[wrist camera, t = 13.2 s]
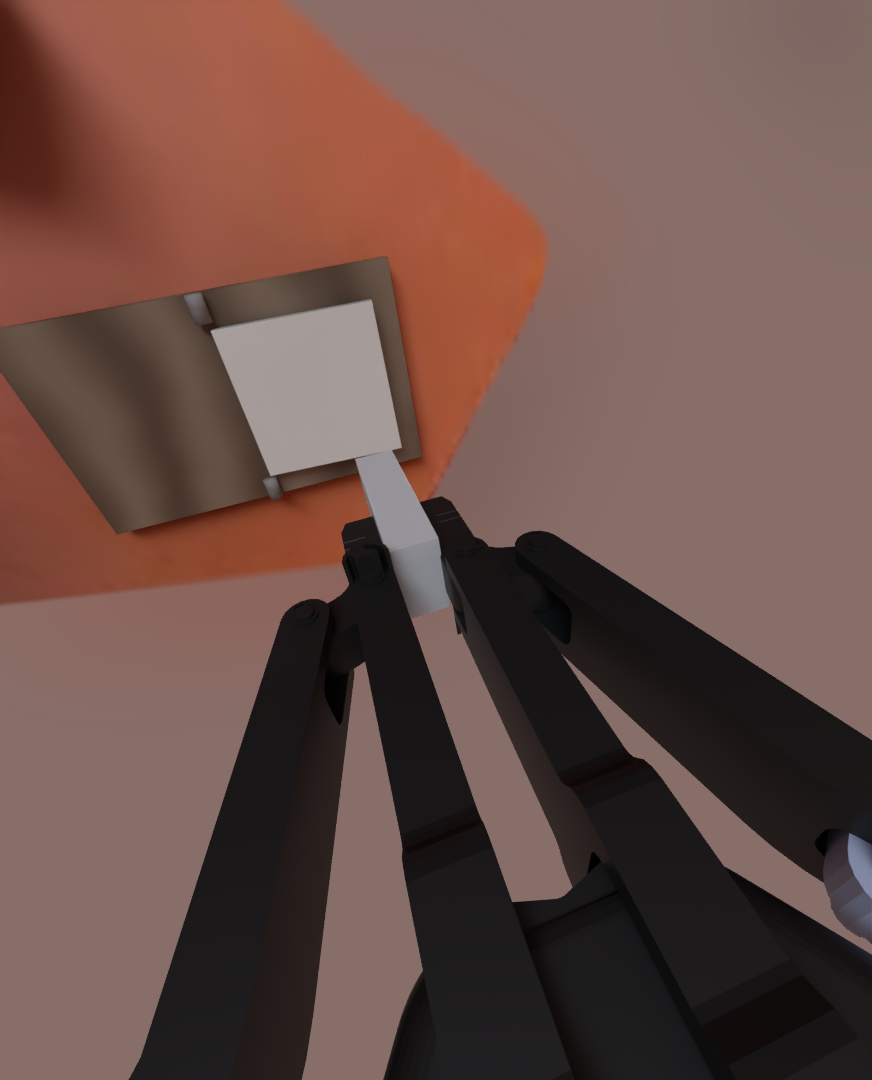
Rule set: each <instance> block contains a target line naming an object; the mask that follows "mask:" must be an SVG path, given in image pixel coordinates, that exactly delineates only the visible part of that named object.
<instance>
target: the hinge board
mask: <svg viewBox="0 0 872 1080" xmlns="http://www.w3.org/2000/svg"><path fill="white" fill-rule="evenodd" d="M367 299H371V300H372V304H373V309H374V314H375V319H376V323H377V328H378V333H379V338H380V343H381V348H382V353H383V358H384V363H385V368H386V373H387V378H388V382H389V387H390V392H391V397H392V402H393V407H394V412H395V417H396V422H397V427H398V432H399V437H400V441H401V446H402V448H399V449H394V450H392V452H393V453H394V455H395V457H396V459H397V461H398V463H400V462H404V461H408V460H411V459H415V458H419V457H422V451H421V446H420V440H419V434H418V428H417V423H416V417H415V411H414V406H413V400H412V394H411V388H410V383H409V377H408V371H407V366H406V360H405V354H404V349H403V343H402V337H401V331H400V326H399V320H398V314H397V309H396V303H395V297H394V291H393V286H392V280H391V274H390V269H389V263H388V257H379V258H373V259H368V260H362V261H357V262H352V263H346V264H341V265H336V266H330V267H325V268H319V269H314V270H309V271H303V272H298V273H293V274H287V275H282V276H276V277H271V278H266V279H260V280H255V281H250V282H244V283H239V284H233V285H228V286H223V287H217V288H212V289H207V290H201V291H196V292H190V293H185V294H180V295H174V296H169V297H164V298H158V299H153V300H147V301H142V302H137V303H131V304H126V305H121V306H115V307H110V308H104V309H99V310H94V311H88V312H83V313H77V314H72V315H67V316H61V317H56V318H51V319H45V320H40V321H34V322H29V323H24V324H18V325H13V326H8V327H2V328H0V372H1V373H2V374H3V376H4V377H5V379H6V380H7V381H8V383H9V384H10V386H11V387H12V388H13V390H14V391H15V393H16V394H17V395H18V397H19V398H20V400H21V401H22V402H23V404H24V405H25V407H26V408H27V409H28V411H29V412H30V414H31V415H32V416H33V418H34V419H35V420H36V422H37V423H38V425H39V426H40V427H41V429H42V430H43V432H44V433H45V434H46V436H47V437H48V439H49V440H50V441H51V443H52V444H53V446H54V447H55V448H56V450H57V451H58V453H59V454H60V455H61V457H62V458H63V460H64V461H65V462H66V464H67V465H68V467H69V468H70V469H71V471H72V472H73V474H74V475H75V476H76V478H77V479H78V481H79V482H80V483H81V485H82V486H83V488H84V489H85V490H86V492H87V493H88V495H89V496H90V497H91V499H92V500H93V502H94V503H95V504H96V506H97V507H98V509H99V510H100V511H101V513H102V514H103V516H104V517H105V518H106V520H107V521H108V523H109V524H110V525H111V527H112V528H113V529H114V531H115V532H116V534H121V533H125V532H128V531H132V530H136V529H140V528H144V527H148V526H152V525H156V524H160V523H164V522H168V521H172V520H176V519H180V518H183V517H187V516H191V515H195V514H199V513H203V512H207V511H211V510H215V509H219V508H223V507H227V506H231V505H235V504H239V503H242V502H246V501H250V500H254V499H258V498H262V497H266V496H270V499H271V500H277V499H280V498H281V497H283V493H282V492H286V491H290V490H294V489H297V488H301V487H305V486H309V485H313V484H317V483H321V482H325V481H329V480H333V479H337V478H341V477H345V476H349V475H352V474H356V473H359V472H358V468H357V464H356V461H355V459H358V458H362V457H365V456H362V457H357V458H352V459H348V460H343V461H338V462H334V463H329V464H324V465H320V466H315V467H310V468H306V469H301V470H296V471H292V472H287V473H282V474H278V475H273V476H270V473H269V471H268V469H267V466H266V464H265V461H264V459H263V456H262V454H261V452H260V449H259V447H258V444H257V442H256V440H255V437H254V435H253V432H252V430H251V427H250V425H249V423H248V420H247V418H246V415H245V413H244V411H243V408H242V406H241V403H240V401H239V399H238V396H237V394H236V391H235V389H234V386H233V384H232V382H231V379H230V377H229V374H228V372H227V370H226V367H225V365H224V362H223V360H222V358H221V355H220V353H219V350H218V348H217V345H216V343H215V341H214V338H213V336H212V333H211V330H213V329H214V328H218V327H224V326H229V325H234V324H239V323H245V322H250V321H255V320H261V319H266V318H271V317H277V316H282V315H287V314H293V313H298V312H303V311H309V310H314V309H319V308H324V307H330V306H335V305H340V304H346V303H351V302H356V301H362V300H367ZM380 453H381V452H380ZM376 454H377V453H376ZM371 455H373V454H371ZM366 456H369V455H366Z"/></svg>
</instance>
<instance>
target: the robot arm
mask: <svg viewBox="0 0 872 1080" xmlns="http://www.w3.org/2000/svg"><path fill="white" fill-rule="evenodd" d="M355 461H356V464H357V468H358V472H359V475H360V479H361V482H362V486H363V490H364V493H365V497H366V500H367V504H368V508H369V511H370V515H371V517H368V518H365V519H361V520H358V521H354V522H350V523H347V524H345V526H344V529H343V531H342V533H341V534H342V539H343V543H344V549H345V555H344V556H343V559H342V564H343V567H344V570H345V573H346V576H347V578H348V581H349V586H348V588H347V589H346V590H345V592H343V594H341V596H339V597H337V598H336V599H335V600H333V601H331V602H329V603H326V602H324V601H322V600H319V599H309V600H305V601H301V602H299V603H297V604H295V605H294V606H292V607H291V608H290V609H289V610H288V611H286V612H285V614H284V616H283V618H282V619H281V622H280V625H279V628H278V631H277V634H276V638H275V641H274V644H273V647H272V650H271V654H270V656H269V659H268V663H267V666H266V669H265V672H264V675H263V678H262V681H261V684H260V688H259V691H258V694H257V697H256V700H255V703H254V706H253V710H252V712H251V715H250V719H249V722H248V725H247V728H246V731H245V734H244V737H243V741H242V743H241V747H240V750H239V753H238V756H237V759H236V762H235V765H234V768H233V772H232V775H231V778H230V781H229V784H228V787H227V790H226V793H225V797H224V800H223V803H222V806H221V809H220V812H219V815H218V818H217V821H216V825H215V828H214V831H213V834H212V837H211V840H210V843H209V846H208V850H207V853H206V856H205V859H204V862H203V865H202V868H201V871H200V875H199V877H198V881H197V884H196V887H195V890H194V893H193V896H192V899H191V903H190V906H189V909H188V912H187V915H186V918H185V921H184V924H183V928H182V931H181V933H180V937H179V940H178V943H177V946H176V949H175V952H174V955H173V958H172V962H171V965H170V968H169V971H168V974H167V977H166V980H165V983H164V986H163V990H162V993H161V996H160V999H159V1002H158V1005H157V1008H156V1011H155V1015H154V1018H153V1021H152V1024H151V1027H150V1030H149V1033H148V1037H147V1039H146V1043H145V1046H144V1049H143V1052H142V1055H141V1058H140V1060H139V1062H138V1063H137V1065H136V1067H135V1069H134V1071H133V1073H132V1075H131V1077H130V1078H129V1080H302V1075H303V1071H304V1067H305V1062H306V1056H307V1050H308V1044H309V1038H310V1031H311V1025H312V1019H313V1012H314V1004H315V996H316V987H317V979H318V970H319V962H320V954H321V946H322V938H323V929H324V921H325V912H326V904H327V896H328V887H329V880H330V871H331V863H332V855H333V846H334V838H335V829H336V822H337V813H338V804H339V797H340V788H341V780H342V772H343V763H344V755H345V747H346V739H347V731H348V722H349V714H350V705H351V697H352V689H353V680H354V668H356V667H357V666H359V665H360V664H362V663H363V662H365V663H366V667H367V672H368V676H369V682H370V687H371V692H372V697H373V702H374V707H375V712H376V717H377V722H378V726H379V732H380V737H381V742H382V746H383V751H384V756H385V761H386V766H387V771H388V776H389V781H390V785H391V790H392V796H393V801H394V806H395V811H396V816H397V821H398V826H399V830H400V835H401V841H402V848H403V851H402V862H403V869H404V875H405V881H406V886H407V891H408V896H409V901H410V907H411V912H412V916H413V921H414V926H415V932H416V937H417V942H418V947H419V953H420V957H421V963H422V967H423V972H422V973H421V975H420V976H419V978H418V980H417V982H416V983H415V985H414V987H413V990H412V991H411V993H410V995H409V998H408V1000H407V1003H406V1006H405V1008H404V1011H403V1013H402V1016H401V1019H400V1022H399V1026H398V1029H397V1033H396V1036H395V1040H394V1043H393V1047H392V1051H391V1054H390V1058H389V1061H388V1065H387V1069H386V1072H385V1076H384V1079H383V1080H872V955H871V954H869V953H868V952H866V951H865V950H863V949H861V948H859V947H858V946H856V945H855V944H853V943H851V942H850V941H848V940H846V939H845V938H843V937H841V936H840V935H838V934H836V933H835V932H833V931H831V930H830V929H828V928H826V927H825V926H823V925H822V924H820V923H818V922H816V921H815V920H813V919H811V918H810V917H808V916H806V915H805V914H803V913H802V912H800V911H798V910H797V909H795V908H793V907H792V906H790V905H788V904H787V903H785V902H783V901H782V900H780V899H778V898H776V897H775V896H773V895H772V894H770V893H768V892H767V891H765V890H763V889H762V888H760V887H758V886H757V885H755V884H753V883H752V882H750V881H748V880H747V879H745V878H743V877H742V876H740V875H738V874H737V873H735V872H733V871H732V870H730V869H728V868H726V867H724V866H723V864H722V863H721V862H720V860H719V859H718V857H717V856H716V855H715V853H714V852H713V850H712V849H711V847H710V846H709V845H708V843H707V842H706V840H705V839H704V838H703V836H702V835H701V833H700V832H699V831H698V829H697V828H696V826H695V825H694V823H693V822H692V821H691V819H690V818H689V816H688V815H687V813H686V812H685V811H684V809H683V808H682V807H681V805H680V804H679V802H678V801H677V799H676V798H675V797H674V795H673V794H672V792H671V791H670V789H669V788H668V787H667V785H666V784H665V782H664V781H663V780H662V778H661V777H660V776H659V775H658V773H657V772H656V771H655V770H654V768H653V767H652V766H651V765H650V764H648V763H647V762H646V761H645V760H644V759H639V758H636V757H633V756H632V755H631V754H629V753H628V751H627V750H626V749H625V748H624V746H623V745H622V743H621V742H620V740H619V739H618V737H617V736H616V734H615V733H614V731H613V730H612V729H611V727H610V725H609V724H608V723H607V721H606V720H605V718H604V717H603V715H602V714H601V712H600V711H599V710H598V708H597V706H596V705H595V703H594V702H593V700H592V699H591V698H590V696H589V694H588V693H587V691H586V690H585V688H584V687H583V686H582V684H581V683H580V681H579V680H578V678H577V677H576V675H575V674H574V672H573V671H572V669H571V668H570V666H569V665H568V663H567V662H566V660H565V659H564V658H563V656H564V657H565V658H567V659H568V660H569V661H570V662H571V663H572V664H573V665H574V666H575V667H576V668H578V669H579V670H580V671H581V672H582V673H583V674H584V675H585V676H586V677H587V678H588V679H589V680H591V681H592V682H593V683H594V684H595V685H596V686H597V687H598V688H599V689H600V690H601V691H603V693H605V694H606V695H607V696H608V697H609V698H610V699H611V700H612V701H613V702H614V703H615V704H617V705H618V706H619V707H620V708H621V709H622V710H623V711H624V712H625V713H626V714H628V716H630V717H631V718H632V719H633V720H634V721H635V722H636V723H637V724H638V725H639V726H640V727H641V728H642V729H644V730H645V731H646V732H647V733H648V734H649V735H650V736H651V737H652V738H653V739H654V740H655V741H657V742H658V743H659V744H660V745H661V746H662V747H663V748H664V749H665V750H666V751H667V752H669V753H670V754H671V755H672V756H673V757H674V758H675V759H676V760H677V761H678V762H680V764H681V765H683V766H684V767H685V768H686V769H687V770H688V771H689V772H690V773H691V774H692V775H694V776H695V777H696V778H697V779H698V780H699V781H700V782H701V783H702V784H703V785H704V786H705V787H706V788H708V789H709V790H710V791H711V792H712V793H713V794H714V795H715V796H716V797H717V798H718V799H720V800H721V801H722V802H723V803H724V804H725V805H726V806H727V807H728V808H729V809H730V810H731V811H733V812H734V813H735V814H736V815H737V816H738V817H739V818H740V819H741V820H742V821H743V822H744V823H746V824H747V825H748V826H749V827H750V828H751V829H753V830H754V831H755V832H756V833H757V834H758V835H760V836H761V837H762V838H763V839H764V840H766V841H767V842H768V843H769V844H770V845H771V846H773V847H774V848H775V849H777V850H778V851H779V852H780V853H782V854H783V855H784V856H786V857H787V858H788V859H790V860H791V861H793V862H794V863H795V864H797V865H798V866H799V867H801V868H802V869H803V870H805V871H806V872H808V873H810V874H811V875H813V876H814V877H816V878H818V879H819V880H820V881H822V882H823V883H824V884H825V887H826V890H827V893H828V895H829V897H830V901H831V908H832V910H833V912H834V914H835V916H836V918H837V919H838V920H839V921H840V922H841V923H842V924H843V926H844V927H845V928H846V929H847V930H849V931H851V932H852V933H854V934H855V935H857V936H859V937H863V938H866V939H867V940H868V941H869V942H870V943H871V944H872V740H871V739H869V738H867V737H866V736H864V735H863V734H861V733H860V732H858V731H857V730H855V729H854V728H852V727H850V726H849V725H847V724H846V723H844V722H843V721H841V720H840V719H838V718H837V717H835V716H833V715H832V714H830V713H829V712H827V711H826V710H824V709H823V708H821V707H819V706H818V705H817V704H815V703H813V702H812V701H810V700H808V699H807V698H806V697H804V696H803V695H801V694H799V693H798V692H796V691H795V690H793V689H792V688H790V687H789V686H787V685H786V684H784V683H783V682H781V681H779V680H778V679H776V678H775V677H773V676H772V675H770V674H769V673H767V672H766V671H764V670H763V669H761V668H759V667H758V666H756V665H755V664H753V663H752V662H750V661H749V660H747V659H746V658H744V657H742V656H741V655H739V654H738V653H736V652H735V651H733V650H732V649H730V648H729V647H727V646H725V645H724V644H722V643H721V642H719V641H718V640H716V639H715V638H713V637H712V636H710V635H709V634H707V633H705V632H704V631H702V630H701V629H699V628H698V627H696V626H695V625H693V624H692V623H690V622H688V621H687V620H685V619H684V618H682V617H681V616H679V615H678V614H676V613H674V612H673V611H671V610H670V609H668V608H667V607H665V606H664V605H662V604H661V603H659V602H658V601H656V600H654V599H653V598H651V597H650V596H648V595H647V594H645V593H644V592H642V591H641V590H639V589H638V588H636V587H634V586H633V585H631V584H630V583H628V582H627V581H625V580H624V579H622V578H621V577H619V576H617V575H616V574H614V573H613V572H611V571H610V570H608V569H607V568H605V567H604V566H602V565H600V564H599V563H597V562H596V561H594V560H593V559H591V558H590V557H588V556H587V555H585V554H583V553H582V552H580V551H579V550H577V549H576V548H574V547H573V546H571V545H570V544H568V543H567V542H565V541H563V540H562V539H560V538H559V537H557V536H556V535H554V534H551V533H549V532H544V531H532V532H528V533H525V534H523V535H521V536H520V537H518V538H517V540H516V542H515V547H504V548H494V547H489V546H488V545H487V544H486V543H485V542H484V541H483V540H482V539H479V538H476V537H474V536H473V534H472V533H471V531H470V529H469V528H468V527H467V525H466V523H465V522H464V520H463V519H462V517H460V514H459V513H458V511H456V509H455V507H454V505H453V504H452V502H451V501H449V500H447V499H445V498H444V497H437V498H433V499H430V500H426V501H422V502H419V501H418V499H417V497H416V495H415V493H414V491H413V489H412V487H411V485H410V484H409V482H408V480H407V478H406V476H405V474H404V472H403V470H402V469H401V467H400V465H399V463H398V461H397V459H396V457H395V455H394V453H393V452H392V450H389V451H385V452H381V453H377V454H373V455H369V456H365V457H362V458H358V459H355ZM448 596H449V597H448ZM449 598H450V600H451V602H452V605H453V609H454V615H455V621H456V627H457V633H458V634H461V632H462V634H463V636H464V639H465V641H466V643H467V645H468V647H469V649H470V652H471V654H472V656H473V658H474V660H475V663H476V665H477V667H478V669H479V671H480V674H481V676H482V678H483V680H484V682H485V685H486V687H487V689H488V691H489V693H490V696H491V698H492V700H493V702H494V704H495V706H496V709H497V711H498V713H499V715H500V717H501V719H502V722H503V724H504V726H505V728H506V730H507V733H508V735H509V737H510V739H511V741H512V743H513V745H514V748H515V750H516V752H517V755H518V757H519V759H520V761H521V763H522V765H523V768H524V770H525V772H526V774H527V776H528V778H529V781H530V783H531V785H532V787H533V790H534V792H535V794H536V796H537V798H538V800H539V802H540V805H541V807H542V809H543V811H544V814H545V816H546V818H547V820H548V822H549V825H550V827H551V829H552V831H553V833H554V836H555V838H556V840H557V843H558V846H559V849H560V853H561V856H562V860H563V863H564V866H565V869H566V872H567V875H568V877H569V879H570V882H571V884H572V887H573V888H572V889H571V890H570V891H569V892H568V893H567V894H566V895H565V896H563V897H561V898H558V899H550V900H537V901H524V902H512V901H511V898H510V895H509V892H508V889H507V887H506V884H505V881H504V878H503V875H502V872H501V870H500V867H499V864H498V861H497V858H496V855H495V852H494V850H493V847H492V844H491V841H490V838H489V836H488V833H487V830H486V828H485V826H484V823H483V821H482V820H481V818H480V815H479V813H478V810H477V807H476V805H475V802H474V799H473V796H472V793H471V790H470V788H469V785H468V782H467V779H466V776H465V773H464V770H463V767H462V764H461V761H460V759H459V756H458V753H457V750H456V747H455V744H454V741H453V738H452V736H451V733H450V730H449V727H448V724H447V722H446V719H445V715H444V713H443V710H442V707H441V704H440V701H439V698H438V695H437V693H436V690H435V687H434V684H433V681H432V678H431V675H430V672H429V669H428V667H427V664H426V661H425V658H424V655H423V652H422V649H421V646H420V643H419V641H418V638H417V635H416V632H415V629H414V626H413V623H412V621H411V618H415V617H418V616H421V615H424V614H427V613H430V612H434V611H437V610H440V609H443V608H446V607H449V606H450V603H449ZM562 655H563V656H562Z"/></svg>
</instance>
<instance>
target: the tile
mask: <svg viewBox="0 0 872 1080" xmlns="http://www.w3.org/2000/svg"><path fill="white" fill-rule="evenodd" d="M211 333H212V336H213V338H214V341H215V343H216V345H217V348H218V350H219V353H220V355H221V358H222V360H223V362H224V365H225V367H226V370H227V372H228V374H229V377H230V379H231V382H232V384H233V386H234V389H235V391H236V394H237V396H238V399H239V401H240V403H241V406H242V408H243V411H244V413H245V415H246V418H247V420H248V423H249V425H250V427H251V430H252V432H253V435H254V437H255V440H256V442H257V444H258V447H259V449H260V452H261V454H262V456H263V459H264V461H265V464H266V466H267V469H268V471H269V473H270V476H273V475H278V474H282V473H287V472H292V471H296V470H301V469H306V468H310V467H315V466H320V465H324V464H329V463H334V462H338V461H343V460H348V459H352V458H357V457H362V456H366V455H371V454H376V453H380V452H385V451H389V450H394V449H399V448H402V446H401V441H400V437H399V432H398V427H397V422H396V417H395V412H394V407H393V402H392V397H391V392H390V387H389V382H388V378H387V373H386V368H385V363H384V358H383V353H382V348H381V343H380V338H379V333H378V328H377V323H376V319H375V314H374V309H373V304H372V300H371V299H367V300H362V301H356V302H351V303H346V304H340V305H335V306H330V307H324V308H319V309H314V310H309V311H303V312H298V313H293V314H287V315H282V316H277V317H271V318H266V319H261V320H255V321H250V322H245V323H239V324H234V325H229V326H224V327H218V328H214V329H213V330H211Z"/></svg>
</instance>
